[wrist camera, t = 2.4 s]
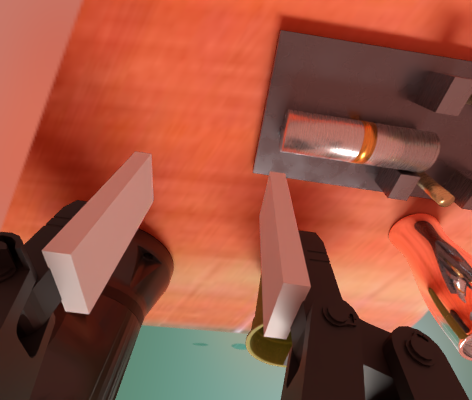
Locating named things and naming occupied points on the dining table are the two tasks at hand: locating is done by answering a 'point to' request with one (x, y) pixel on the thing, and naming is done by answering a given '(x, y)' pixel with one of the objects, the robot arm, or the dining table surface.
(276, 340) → the plant pot
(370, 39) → the dining table surface
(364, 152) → the tube
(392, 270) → the dining table surface
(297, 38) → the steam engine
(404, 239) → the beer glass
